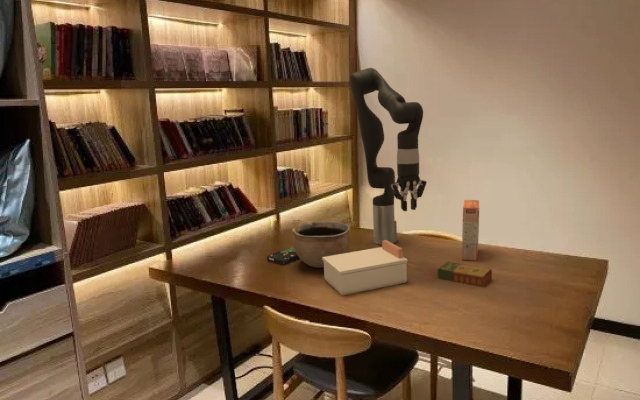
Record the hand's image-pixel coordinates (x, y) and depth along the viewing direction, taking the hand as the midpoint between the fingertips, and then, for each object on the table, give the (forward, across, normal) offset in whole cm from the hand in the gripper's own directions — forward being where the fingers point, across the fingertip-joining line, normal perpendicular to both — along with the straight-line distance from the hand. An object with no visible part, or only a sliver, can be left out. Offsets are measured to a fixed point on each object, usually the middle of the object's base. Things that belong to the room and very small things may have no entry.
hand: (408, 210), depth 166 cm
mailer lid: (+16, +18, 0) cm, 24 cm away
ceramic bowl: (+23, +25, -23) cm, 41 cm away
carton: (+24, -13, +14) cm, 30 cm away
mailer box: (+23, +18, 0) cm, 29 cm away
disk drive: (+24, +35, -37) cm, 56 cm away
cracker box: (+23, -30, -5) cm, 38 cm away
